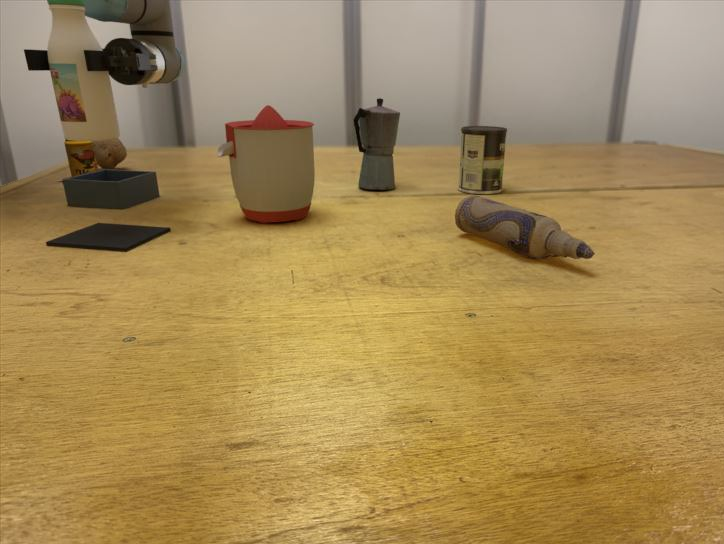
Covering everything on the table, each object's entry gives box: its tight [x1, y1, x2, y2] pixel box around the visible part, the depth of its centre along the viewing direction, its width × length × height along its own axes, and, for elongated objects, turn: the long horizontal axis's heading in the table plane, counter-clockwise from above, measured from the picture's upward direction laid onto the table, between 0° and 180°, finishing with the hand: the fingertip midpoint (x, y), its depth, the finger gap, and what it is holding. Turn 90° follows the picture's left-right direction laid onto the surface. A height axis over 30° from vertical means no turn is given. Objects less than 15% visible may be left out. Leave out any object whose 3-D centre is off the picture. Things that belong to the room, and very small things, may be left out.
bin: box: [61, 169, 161, 210], centre depth 114 cm, size 12×12×5 cm
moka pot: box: [353, 97, 401, 191], centre depth 126 cm, size 10×15×20 cm, turn 149°
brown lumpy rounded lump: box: [92, 138, 128, 170], centre depth 146 cm, size 9×9×10 cm
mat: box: [45, 222, 172, 253], centre depth 90 cm, size 14×12×1 cm
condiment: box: [58, 137, 100, 182], centre depth 134 cm, size 7×8×12 cm
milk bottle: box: [46, 0, 121, 141], centre depth 82 cm, size 8×8×20 cm
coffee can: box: [458, 125, 508, 195], centre depth 127 cm, size 10×10×14 cm
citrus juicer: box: [216, 104, 316, 224], centre depth 100 cm, size 16×17×20 cm
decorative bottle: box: [454, 194, 596, 260], centre depth 85 cm, size 26×8×7 cm, turn 33°
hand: (58, 60), depth 77 cm, fingers closed on milk bottle, 8 cm apart
